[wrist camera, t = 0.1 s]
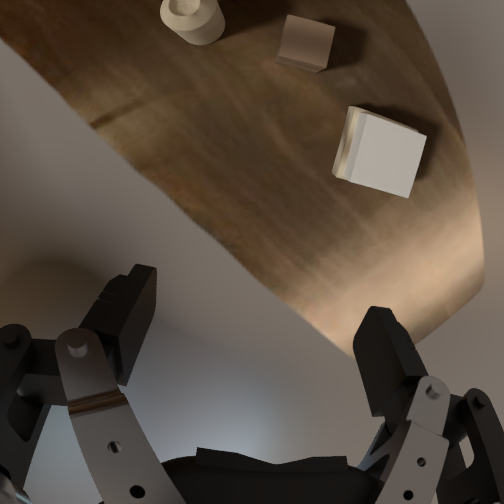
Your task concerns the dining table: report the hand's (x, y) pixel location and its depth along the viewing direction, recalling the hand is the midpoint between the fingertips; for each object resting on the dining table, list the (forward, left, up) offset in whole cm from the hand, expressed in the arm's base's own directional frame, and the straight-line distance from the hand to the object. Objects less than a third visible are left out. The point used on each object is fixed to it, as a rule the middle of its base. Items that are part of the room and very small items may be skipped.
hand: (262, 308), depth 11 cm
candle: (-16, -10, -29) cm, 35 cm away
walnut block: (-15, +2, -29) cm, 33 cm away
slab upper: (-5, +14, -27) cm, 30 cm away
